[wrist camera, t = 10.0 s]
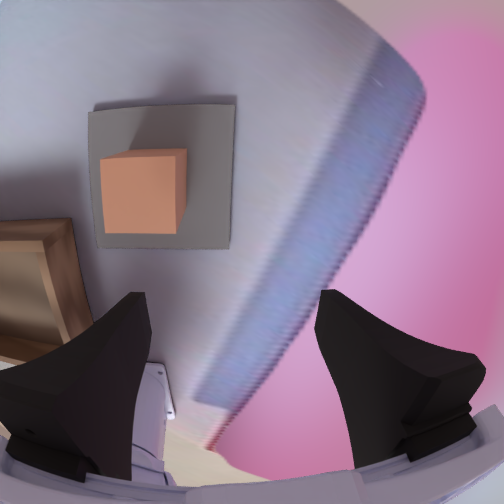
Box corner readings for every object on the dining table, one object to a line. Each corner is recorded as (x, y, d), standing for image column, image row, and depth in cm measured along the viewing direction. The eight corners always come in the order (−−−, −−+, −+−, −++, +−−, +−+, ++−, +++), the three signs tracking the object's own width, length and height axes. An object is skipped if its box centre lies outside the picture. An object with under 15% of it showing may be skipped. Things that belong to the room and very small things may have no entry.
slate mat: (229, 247, 21) (229, 249, 21) (99, 245, 20) (97, 248, 20) (234, 105, 17) (235, 104, 17) (90, 112, 16) (88, 112, 16)
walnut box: (100, 346, 24) (86, 379, 20) (-9, 328, 23) (-26, 352, 18) (71, 218, 19) (42, 240, 15) (-42, 224, 17) (-69, 242, 13)
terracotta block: (186, 207, 20) (175, 233, 15) (130, 207, 19) (105, 233, 15) (187, 148, 18) (175, 156, 13) (128, 149, 17) (99, 159, 13)
